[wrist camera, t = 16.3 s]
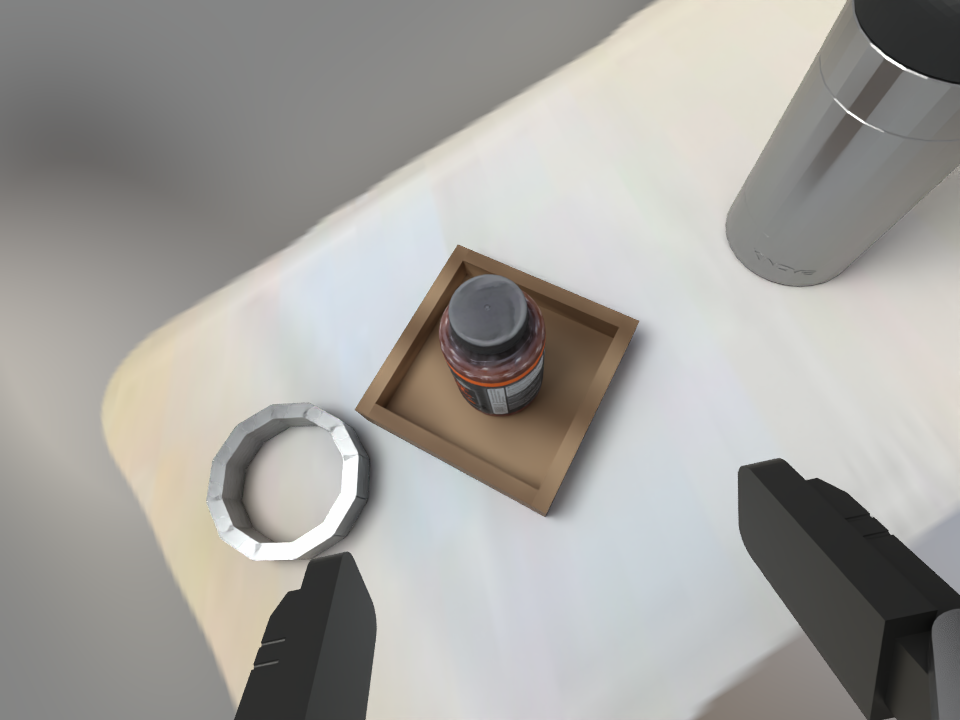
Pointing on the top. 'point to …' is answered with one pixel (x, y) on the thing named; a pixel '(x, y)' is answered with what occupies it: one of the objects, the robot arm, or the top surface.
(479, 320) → the supplement bottle
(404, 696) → the top surface
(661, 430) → the top surface
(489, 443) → the tray
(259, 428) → the holder ring
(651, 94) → the top surface
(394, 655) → the top surface
